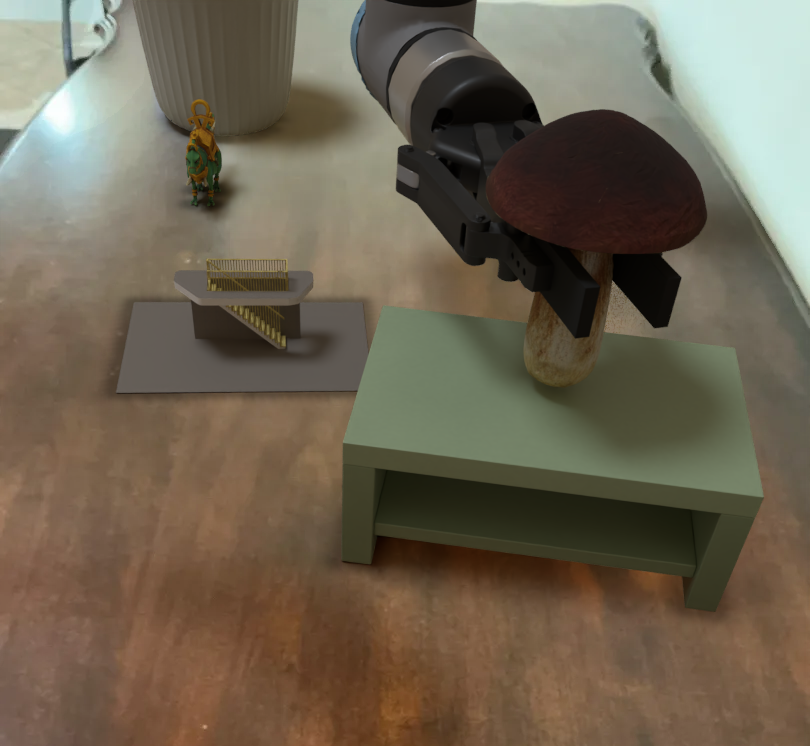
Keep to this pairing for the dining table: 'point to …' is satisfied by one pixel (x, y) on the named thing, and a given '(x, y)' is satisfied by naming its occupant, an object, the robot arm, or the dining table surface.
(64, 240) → the dining table surface
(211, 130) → the figurine
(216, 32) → the canister
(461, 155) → the robot arm
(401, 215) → the dining table surface
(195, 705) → the dining table surface
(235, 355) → the platform
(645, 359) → the shelf
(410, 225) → the dining table surface
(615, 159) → the decorative mushroom
